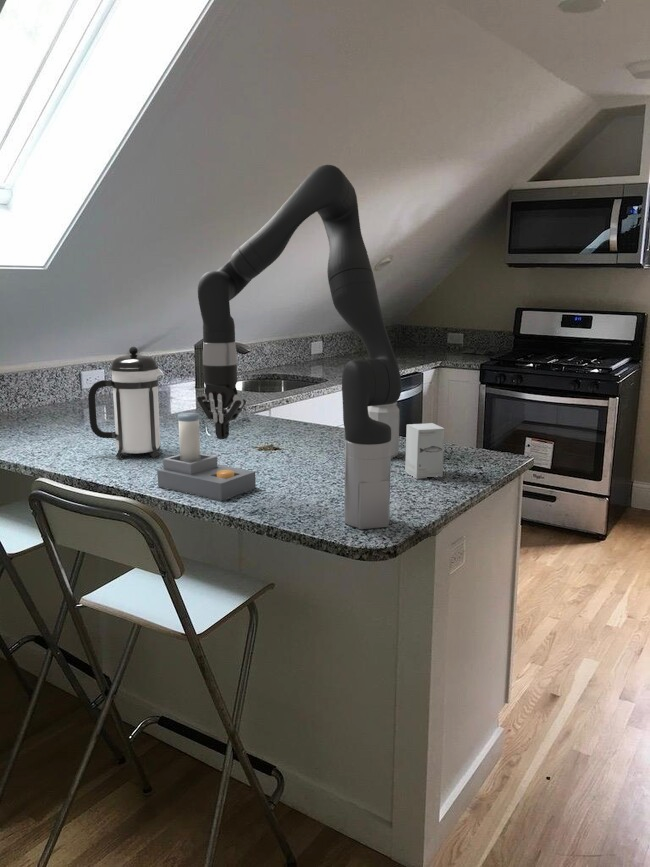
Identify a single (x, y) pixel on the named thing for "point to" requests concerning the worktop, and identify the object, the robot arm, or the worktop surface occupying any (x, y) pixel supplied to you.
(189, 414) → the cartridge
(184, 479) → the housing
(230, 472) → the button
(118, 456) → the coffee press
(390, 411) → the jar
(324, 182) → the robot arm
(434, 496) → the worktop surface
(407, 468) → the supplement box
